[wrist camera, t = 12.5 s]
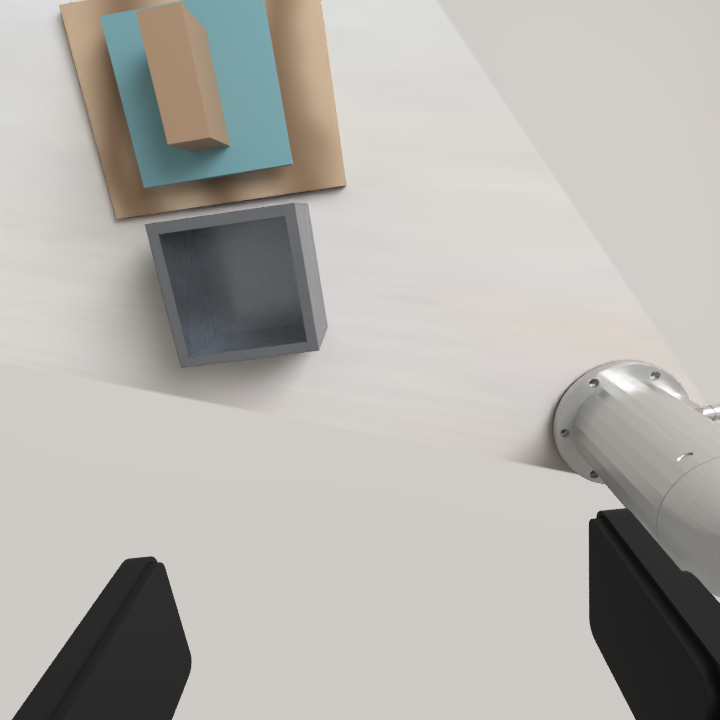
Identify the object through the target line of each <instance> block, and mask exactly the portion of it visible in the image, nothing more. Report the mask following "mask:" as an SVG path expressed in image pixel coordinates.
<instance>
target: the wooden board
mask: <svg viewBox="0 0 720 720" xmlns="http://www.w3.org/2000/svg"><path fill="white" fill-rule="evenodd" d="M178 1H184V0H86V1H80V2H74V3H68V4H63V5H59V6H60V10H61V14H62V18H63V21H64V25H65V29H66V33H67V36H68V40H69V44H70V47H71V51H72V55H73V59H74V62H75V66H76V70H77V74H78V77H79V81H80V85H81V88H82V92H83V96H84V100H85V103H86V107H87V111H88V115H89V118H90V122H91V126H92V130H93V133H94V137H95V141H96V144H97V148H98V152H99V156H100V159H101V163H102V167H103V171H104V174H105V178H106V182H107V186H108V189H109V193H110V197H111V200H112V204H113V208H114V212H115V215H116V219H122V218H129V217H135V216H142V215H149V214H156V213H163V212H169V211H176V210H183V209H190V208H197V207H204V206H210V205H217V204H224V203H231V202H238V201H244V200H251V199H258V198H265V197H272V196H279V195H285V194H292V193H299V192H306V191H313V190H320V189H326V188H333V187H340V186H346V180H345V173H344V166H343V158H342V151H341V144H340V137H339V129H338V122H337V115H336V107H335V100H334V93H333V86H332V78H331V71H330V64H329V56H328V49H327V42H326V35H325V27H324V20H323V13H322V6H321V0H264V1H265V6H266V12H267V18H268V24H269V29H270V35H271V41H272V46H273V52H274V58H275V63H276V69H277V75H278V81H279V86H280V92H281V98H282V103H283V109H284V115H285V120H286V126H287V132H288V138H289V143H290V149H291V155H292V160H293V165H290V166H284V167H278V168H272V169H266V170H259V171H253V172H247V173H241V174H235V175H229V176H223V177H216V178H210V179H204V180H198V181H192V182H186V183H179V184H173V185H167V186H161V187H155V188H144V186H143V182H142V178H141V174H140V170H139V166H138V162H137V158H136V155H135V151H134V147H133V143H132V139H131V135H130V131H129V128H128V124H127V120H126V116H125V112H124V108H123V104H122V101H121V97H120V93H119V89H118V85H117V81H116V77H115V74H114V70H113V66H112V62H111V58H110V54H109V50H108V47H107V43H106V39H105V35H104V31H103V27H102V23H101V20H100V16H103V15H108V14H114V13H119V12H125V11H130V10H135V9H141V8H146V7H151V6H157V5H162V4H168V3H173V2H178Z"/></svg>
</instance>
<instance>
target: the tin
mask: <svg viewBox="0 0 720 720" xmlns="http://www.w3.org/2000/svg"><path fill="white" fill-rule="evenodd" d="M145 227H146V231H147V235H148V239H149V243H150V247H151V250H152V254H153V258H154V262H155V266H156V270H157V274H158V278H159V282H160V286H161V290H162V294H163V298H164V302H165V306H166V310H167V314H168V318H169V322H170V326H171V330H172V334H173V338H174V341H175V345H176V349H177V353H178V357H179V361H180V365H181V368H185V367H193V366H201V365H208V364H216V363H224V362H232V361H240V360H248V359H256V358H263V357H271V356H279V355H287V354H295V353H303V352H311V351H318V350H319V349H320V346H321V344H322V341H323V338H324V335H325V332H326V330H327V320H326V314H325V308H324V302H323V295H322V289H321V283H320V277H319V270H318V264H317V258H316V252H315V245H314V239H313V233H312V227H311V220H310V214H309V208H308V204H306V203H290V204H283V205H276V206H269V207H262V208H255V209H248V210H241V211H235V212H228V213H221V214H214V215H207V216H200V217H193V218H186V219H180V220H173V221H166V222H159V223H152V224H145Z"/></svg>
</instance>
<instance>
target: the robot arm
mask: <svg viewBox="0 0 720 720" xmlns="http://www.w3.org/2000/svg"><path fill="white" fill-rule="evenodd" d="M592 379H593V380H592ZM591 380H592V381H591ZM590 381H591V382H590ZM714 420H720V404H718V405H709V406H707V407H701V406H699V405H697V404H696V403H694V402H692V401H691V400H689V398H688V395H687V393H686V391H685V389H684V388H683V386H682V385H681V383H680V382H679V381H678V380H677V379H676V378H675V377H674V376H673V375H671V374H669V373H668V372H666V371H665V370H663V369H661V368H659V367H657V366H655V365H653V364H650V363H646V362H642V361H631V360H625V361H617V362H612V363H608V364H605V365H601V366H599V367H597V368H595V369H593V370H591V371H589V372H587V373H586V374H585V375H583V376H582V377H581V378H579V379H578V380H577V381H576V382H575V383H574V384H573V385H572V386H571V387H570V388H569V389H568V390H567V392H566V393H565V395H564V396H563V397H562V399H561V401H560V403H559V405H558V408H557V410H556V414H555V418H554V425H553V434H554V439H555V444H556V446H557V449H558V451H559V453H560V455H561V456H562V458H563V459H564V461H565V462H566V463H567V464H568V465H569V466H570V468H571V469H572V470H573V471H575V472H576V473H578V474H579V475H580V476H582V477H584V478H586V479H588V480H590V481H594V482H597V483H601V484H606V485H607V486H608V488H609V489H610V490H611V491H612V492H613V493H614V495H615V496H616V497H617V498H618V499H619V500H620V502H621V503H622V504H623V505H624V506H625V508H624V509H615V510H605V511H599V512H598V513H597V518H596V519H591V520H590V521H589V620H590V626H591V631H592V634H593V637H594V639H595V641H596V643H597V645H598V647H599V649H600V651H601V653H602V655H603V657H604V659H605V661H606V663H607V665H608V666H609V669H610V670H611V672H612V674H613V676H614V678H615V680H616V682H617V684H618V686H619V688H620V690H621V692H622V694H623V696H624V698H625V700H626V701H627V703H628V705H629V707H630V709H631V711H632V713H633V715H634V717H635V719H636V720H720V603H719V602H718V601H717V600H716V598H715V597H714V596H713V595H715V596H718V597H720V425H719V424H717V423H715V422H714ZM562 430H563V431H562ZM712 594H713V595H712ZM190 670H191V654H190V650H189V647H188V644H187V640H186V637H185V633H184V630H183V627H182V623H181V620H180V617H179V614H178V610H177V607H176V603H175V600H174V596H173V593H172V590H171V586H170V583H169V579H168V576H167V573H166V569H165V567H164V565H163V563H160V562H159V563H158V562H157V560H156V559H155V558H154V557H141V558H131V559H127V560H125V561H124V562H123V563H122V564H121V566H120V567H119V569H118V570H117V571H116V573H115V574H114V576H113V577H112V578H111V580H110V581H109V583H108V584H107V585H106V587H105V588H104V590H103V591H102V593H101V594H100V595H99V597H98V598H97V600H96V601H95V602H94V604H93V605H92V607H91V608H90V610H89V611H88V613H87V614H86V616H85V617H84V618H83V620H82V621H81V622H80V624H79V625H78V627H77V628H76V629H75V631H74V632H73V634H72V635H71V637H70V638H69V639H68V641H67V642H66V644H65V645H64V647H63V648H62V650H61V651H60V652H59V654H58V655H57V657H56V658H55V659H54V661H53V662H52V664H51V665H50V666H49V668H48V669H47V671H46V672H45V674H44V675H43V676H42V678H41V679H40V681H39V682H38V684H37V685H36V686H35V688H34V689H33V691H32V692H31V693H30V695H29V696H28V698H27V699H26V700H25V702H24V703H23V705H22V706H21V708H20V709H19V710H18V712H17V713H16V715H15V716H14V718H13V719H12V720H172V718H173V715H174V713H175V710H176V707H177V705H178V702H179V700H180V697H181V695H182V692H183V690H184V687H185V684H186V682H187V679H188V677H189V674H190Z"/></svg>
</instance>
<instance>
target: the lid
mask: <svg viewBox="0 0 720 720" xmlns="http://www.w3.org/2000/svg"><path fill="white" fill-rule="evenodd" d="M100 20H101V23H102V27H103V31H104V35H105V39H106V43H107V47H108V50H109V54H110V58H111V62H112V66H113V70H114V74H115V77H116V81H117V85H118V89H119V93H120V97H121V101H122V104H123V108H124V112H125V116H126V120H127V124H128V128H129V131H130V135H131V139H132V143H133V147H134V151H135V155H136V158H137V162H138V166H139V170H140V174H141V178H142V182H143V186H144V188H155V187H161V186H167V185H173V184H179V183H186V182H192V181H198V180H204V179H210V178H216V177H223V176H229V175H235V174H241V173H247V172H253V171H259V170H266V169H272V168H278V167H284V166H290V165H293V160H292V155H291V149H290V143H289V138H288V132H287V126H286V120H285V115H284V109H283V103H282V98H281V92H280V86H279V81H278V75H277V69H276V63H275V58H274V52H273V46H272V41H271V35H270V29H269V24H268V18H267V12H266V6H265V1H264V0H184V1H178V2H173V3H168V4H162V5H157V6H151V7H146V8H141V9H135V10H130V11H125V12H119V13H114V14H108V15H103V16H100Z"/></svg>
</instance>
